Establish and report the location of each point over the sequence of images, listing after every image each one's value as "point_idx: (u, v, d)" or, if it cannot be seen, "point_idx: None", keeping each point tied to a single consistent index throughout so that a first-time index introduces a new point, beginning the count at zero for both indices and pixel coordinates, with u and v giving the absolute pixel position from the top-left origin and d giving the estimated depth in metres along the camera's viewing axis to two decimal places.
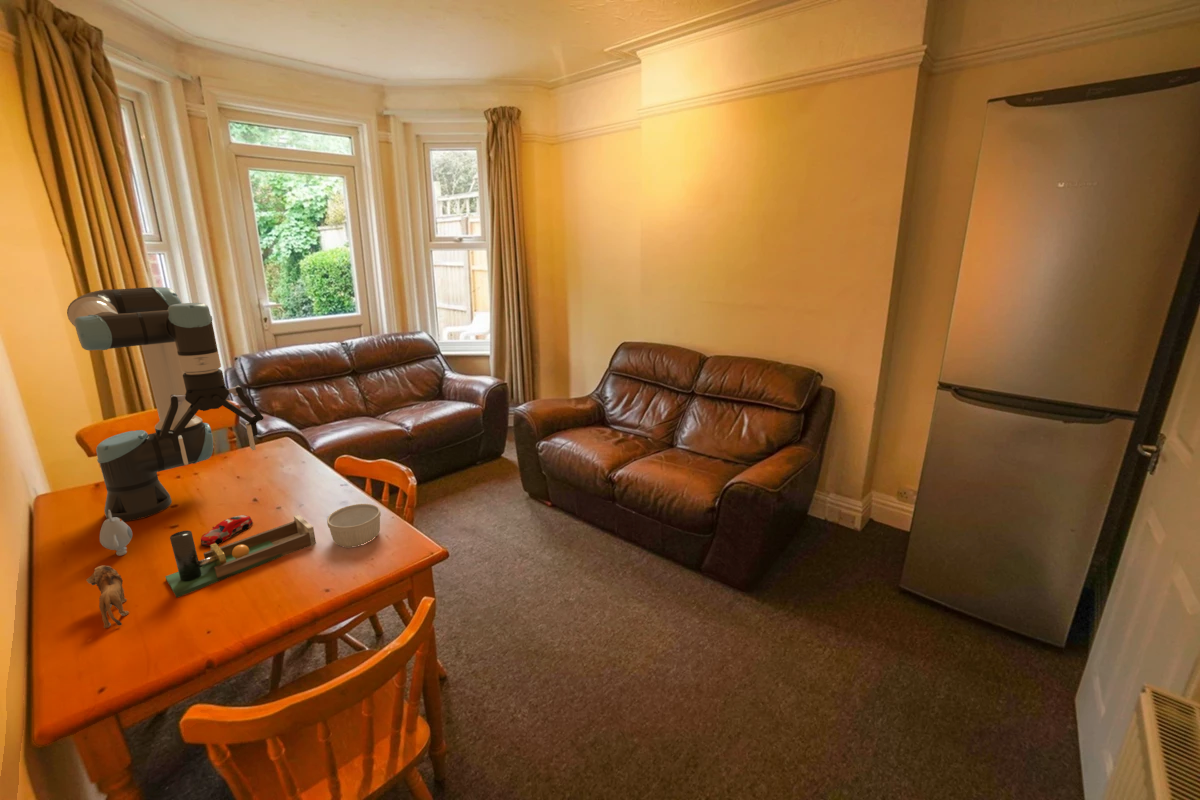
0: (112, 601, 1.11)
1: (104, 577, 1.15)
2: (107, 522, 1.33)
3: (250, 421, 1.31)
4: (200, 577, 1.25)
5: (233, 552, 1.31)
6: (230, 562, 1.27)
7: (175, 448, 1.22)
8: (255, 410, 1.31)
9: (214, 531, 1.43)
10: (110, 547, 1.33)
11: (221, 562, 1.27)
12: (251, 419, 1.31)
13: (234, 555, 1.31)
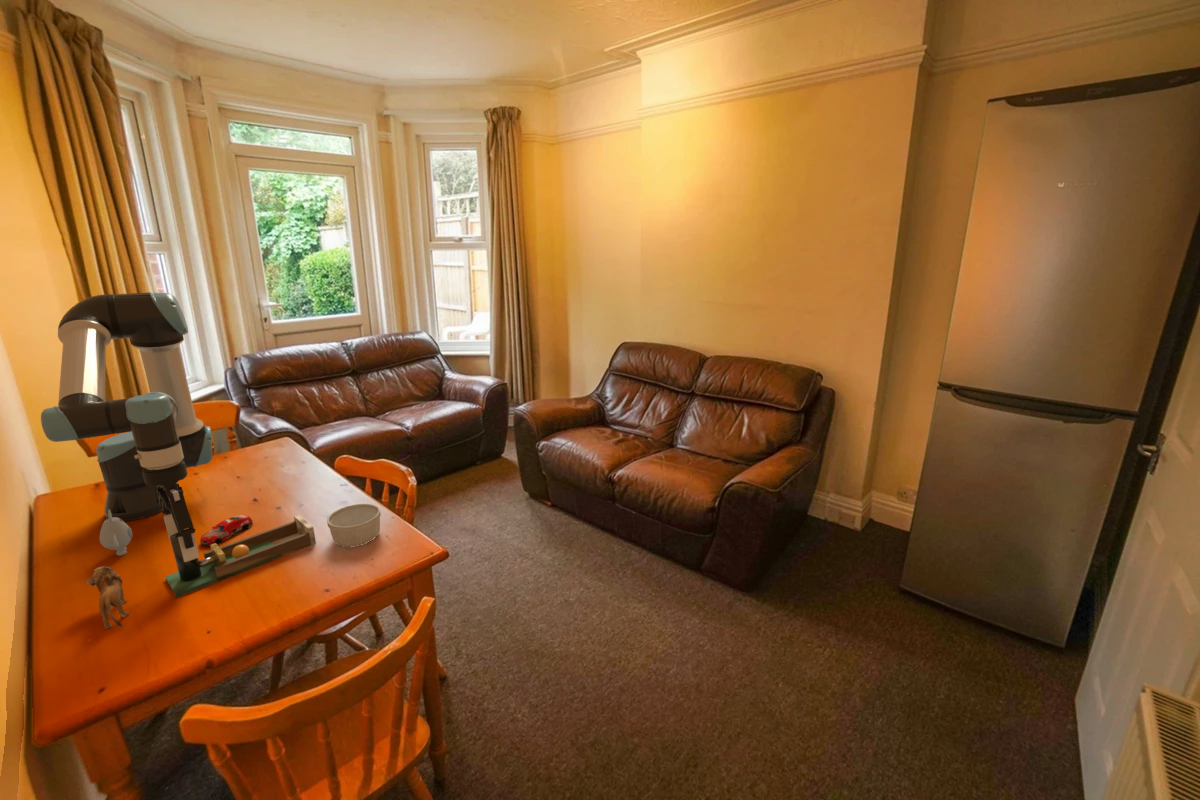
0: (112, 602, 1.11)
1: (104, 578, 1.15)
2: (107, 522, 1.33)
3: (178, 532, 1.16)
4: (200, 577, 1.25)
5: (233, 552, 1.31)
6: (230, 562, 1.27)
7: None
8: (177, 524, 1.14)
9: (214, 531, 1.43)
10: (110, 547, 1.33)
11: (221, 562, 1.27)
12: (178, 530, 1.15)
13: (234, 555, 1.31)
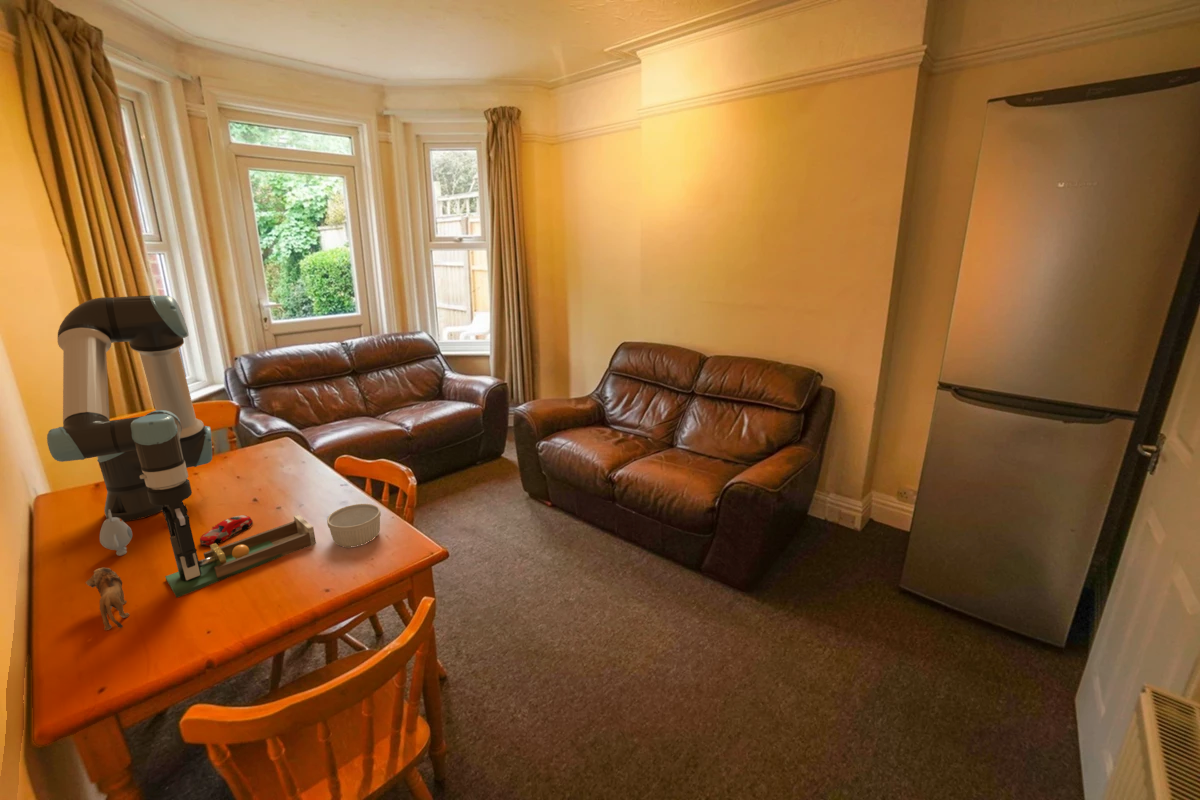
0: (113, 603, 1.10)
1: (104, 579, 1.14)
2: (107, 522, 1.33)
3: (180, 551, 1.20)
4: (200, 577, 1.25)
5: (233, 552, 1.31)
6: (230, 562, 1.27)
7: None
8: (180, 546, 1.18)
9: (213, 531, 1.43)
10: (110, 547, 1.33)
11: (221, 562, 1.27)
12: (180, 551, 1.20)
13: (234, 555, 1.31)
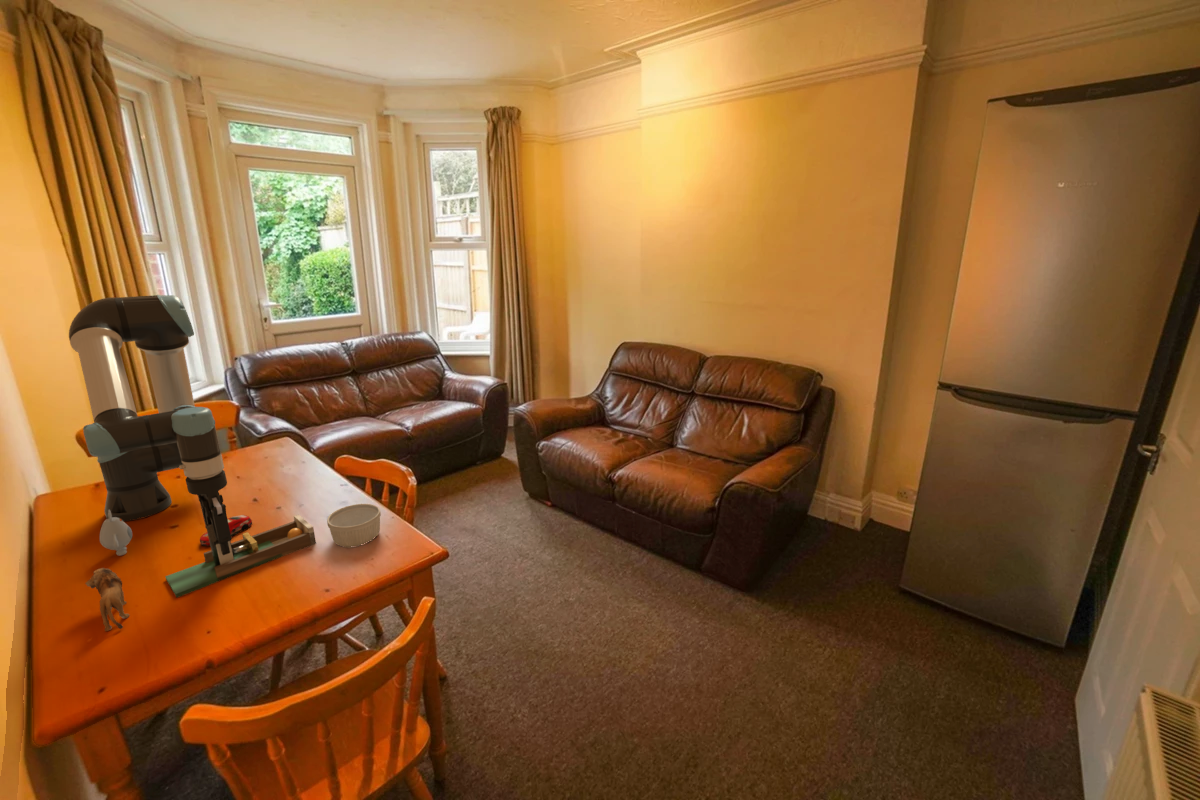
0: (113, 604, 1.10)
1: (104, 580, 1.14)
2: (107, 522, 1.33)
3: (216, 539, 1.25)
4: (200, 577, 1.25)
5: (291, 531, 1.41)
6: (230, 562, 1.27)
7: None
8: (217, 533, 1.23)
9: None
10: (110, 547, 1.33)
11: (254, 550, 1.32)
12: (216, 539, 1.25)
13: (290, 534, 1.40)
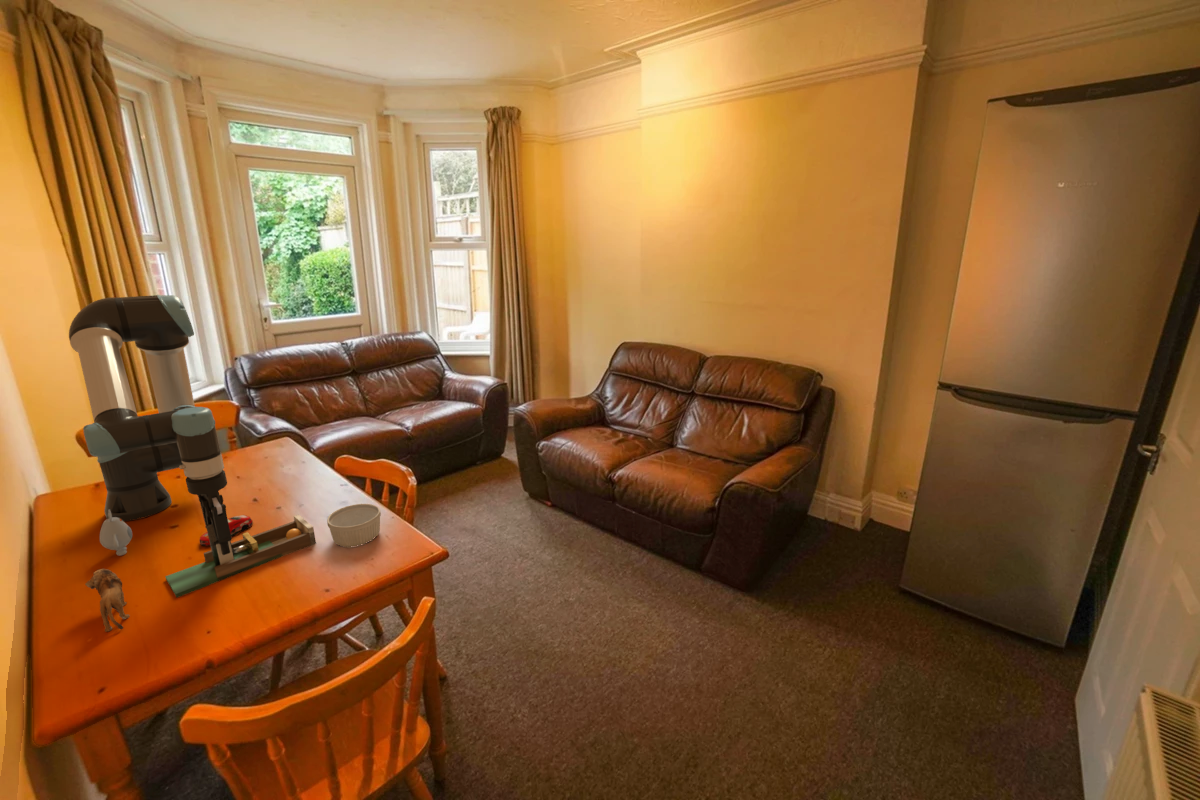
0: (113, 604, 1.10)
1: (104, 581, 1.14)
2: (107, 522, 1.33)
3: (216, 539, 1.25)
4: (200, 577, 1.25)
5: (289, 533, 1.40)
6: (230, 562, 1.27)
7: None
8: (217, 533, 1.23)
9: None
10: (110, 547, 1.33)
11: (254, 550, 1.32)
12: (216, 539, 1.25)
13: (288, 536, 1.40)
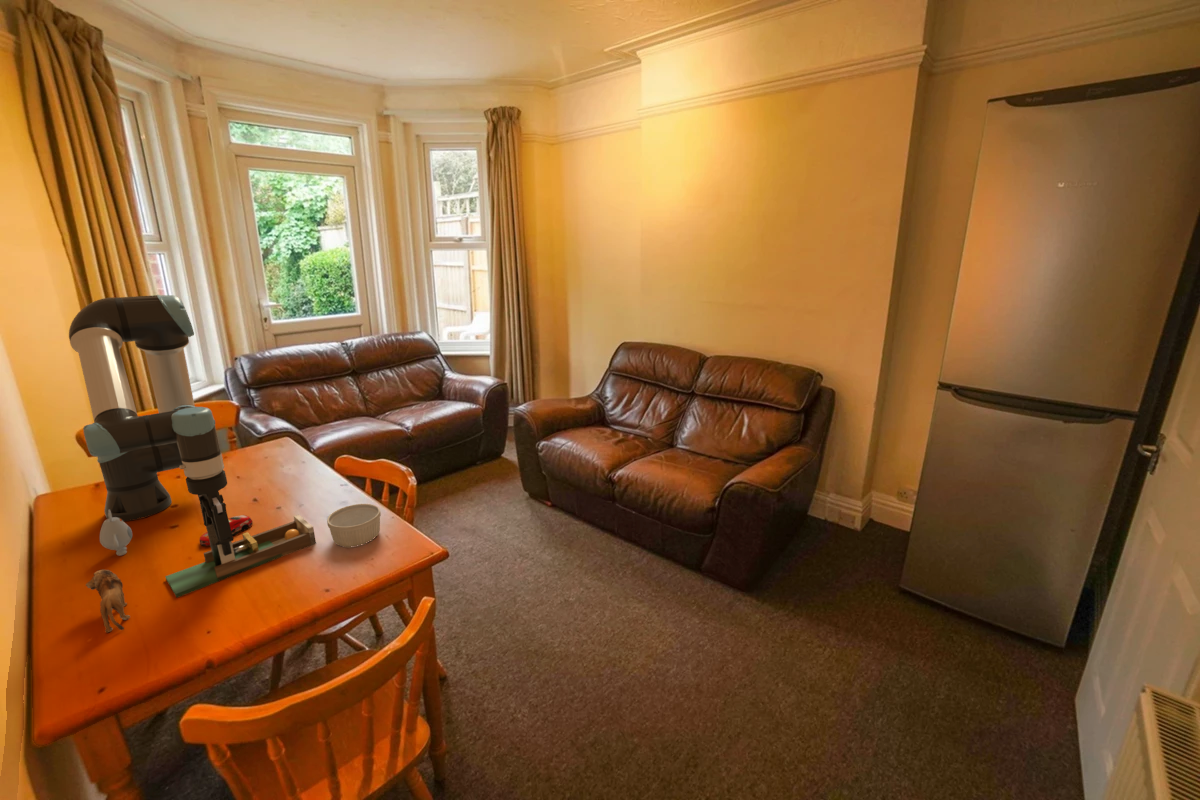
0: (113, 605, 1.10)
1: (104, 581, 1.13)
2: (107, 522, 1.33)
3: (217, 539, 1.25)
4: (200, 577, 1.25)
5: (286, 535, 1.40)
6: (230, 562, 1.27)
7: None
8: (218, 533, 1.23)
9: None
10: (110, 547, 1.33)
11: (254, 550, 1.32)
12: (218, 539, 1.24)
13: (287, 538, 1.40)
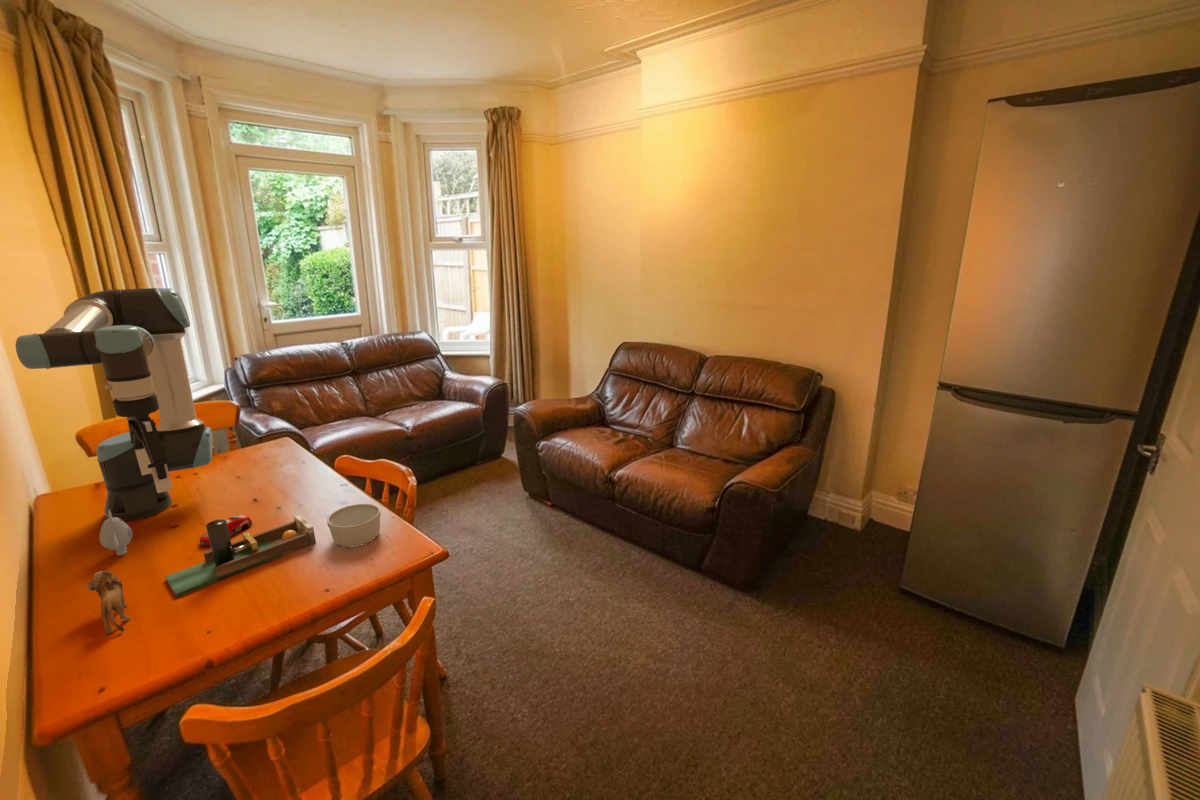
0: (114, 606, 1.09)
1: (104, 582, 1.13)
2: (107, 522, 1.33)
3: (151, 463, 1.17)
4: (200, 577, 1.25)
5: (283, 538, 1.40)
6: (230, 562, 1.27)
7: None
8: (150, 454, 1.16)
9: None
10: (110, 547, 1.33)
11: (254, 550, 1.32)
12: (151, 461, 1.17)
13: None
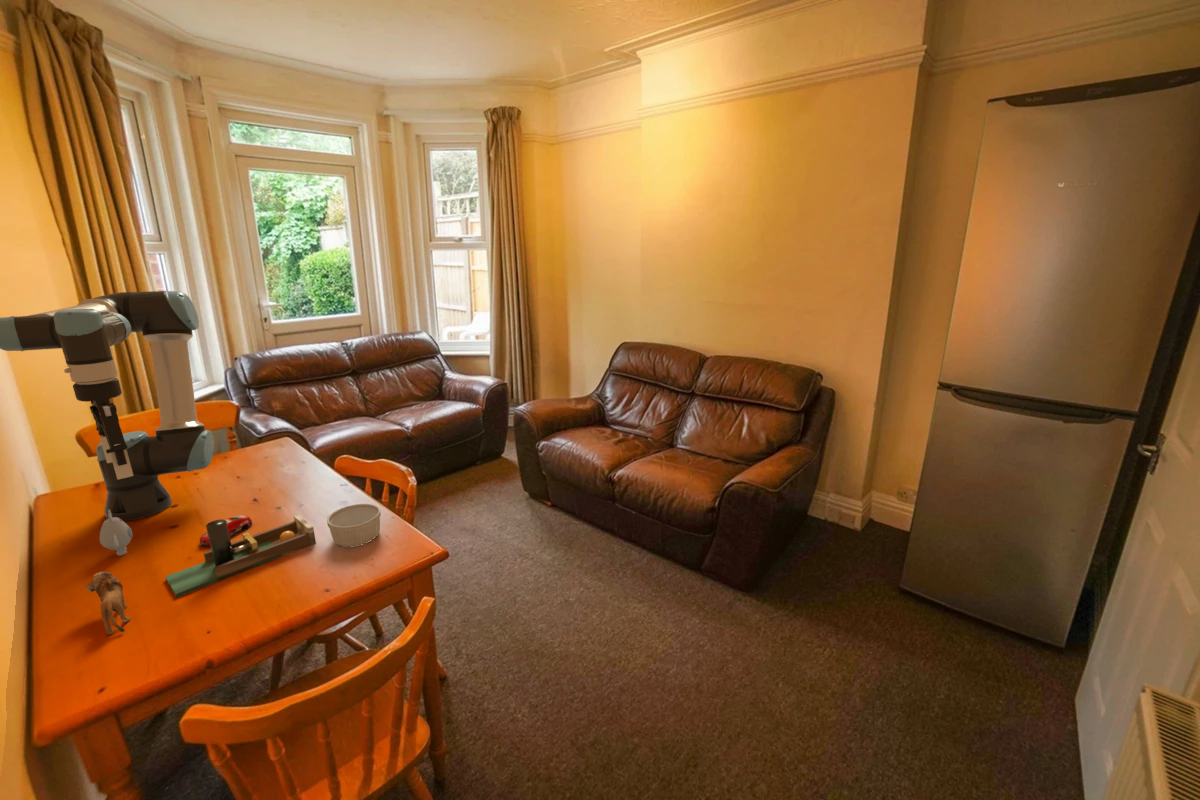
0: (114, 607, 1.09)
1: (104, 583, 1.13)
2: (107, 522, 1.33)
3: (110, 448, 1.15)
4: (200, 577, 1.25)
5: (280, 540, 1.39)
6: (230, 562, 1.27)
7: None
8: (108, 438, 1.14)
9: None
10: (110, 547, 1.33)
11: (254, 550, 1.32)
12: (109, 446, 1.15)
13: None
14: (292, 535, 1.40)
